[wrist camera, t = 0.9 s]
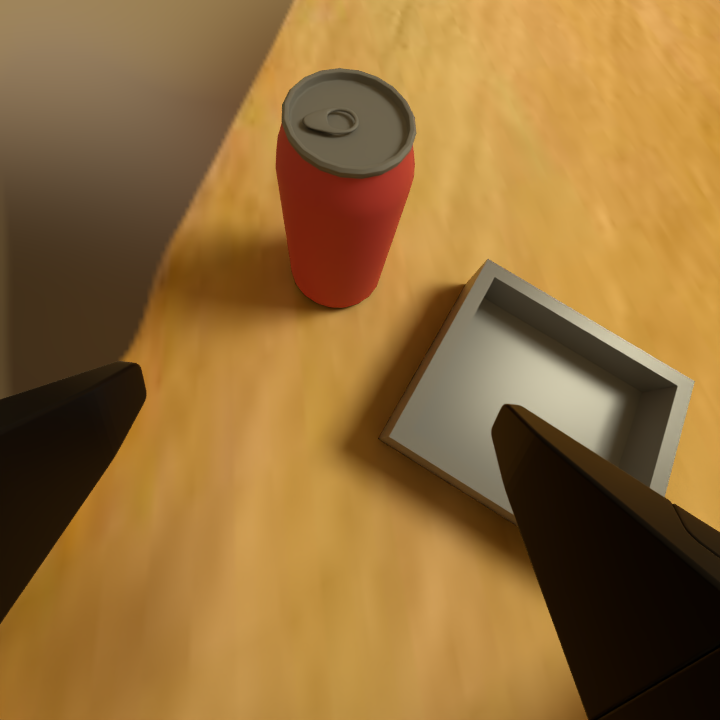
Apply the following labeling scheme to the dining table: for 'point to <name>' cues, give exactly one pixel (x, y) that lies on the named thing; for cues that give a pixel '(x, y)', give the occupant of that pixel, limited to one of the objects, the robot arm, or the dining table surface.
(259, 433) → the dining table surface
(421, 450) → the tray
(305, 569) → the dining table surface
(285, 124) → the beer can
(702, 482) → the dining table surface
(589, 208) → the dining table surface
